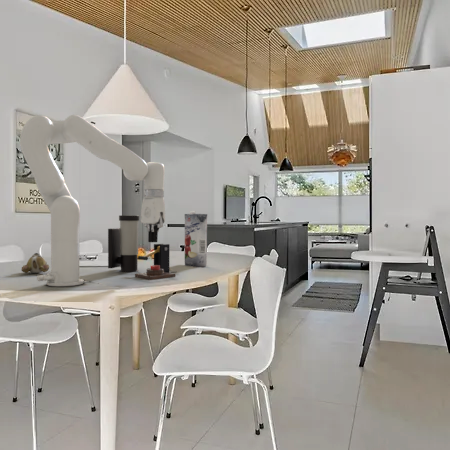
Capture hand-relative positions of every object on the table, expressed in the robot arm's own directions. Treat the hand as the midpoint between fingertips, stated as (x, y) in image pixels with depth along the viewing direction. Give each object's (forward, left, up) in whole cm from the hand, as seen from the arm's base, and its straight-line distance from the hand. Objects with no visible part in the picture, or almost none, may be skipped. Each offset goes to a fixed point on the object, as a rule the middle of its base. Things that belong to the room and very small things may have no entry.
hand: (152, 242), depth 167 cm
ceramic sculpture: (-24, +49, -15) cm, 57 cm away
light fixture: (+3, +22, -15) cm, 27 cm away
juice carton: (+42, +21, -15) cm, 49 cm away
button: (+1, -1, -11) cm, 11 cm away
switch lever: (+7, +8, -6) cm, 12 cm away
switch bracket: (+11, +8, -15) cm, 20 cm away
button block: (+1, -1, -15) cm, 15 cm away
